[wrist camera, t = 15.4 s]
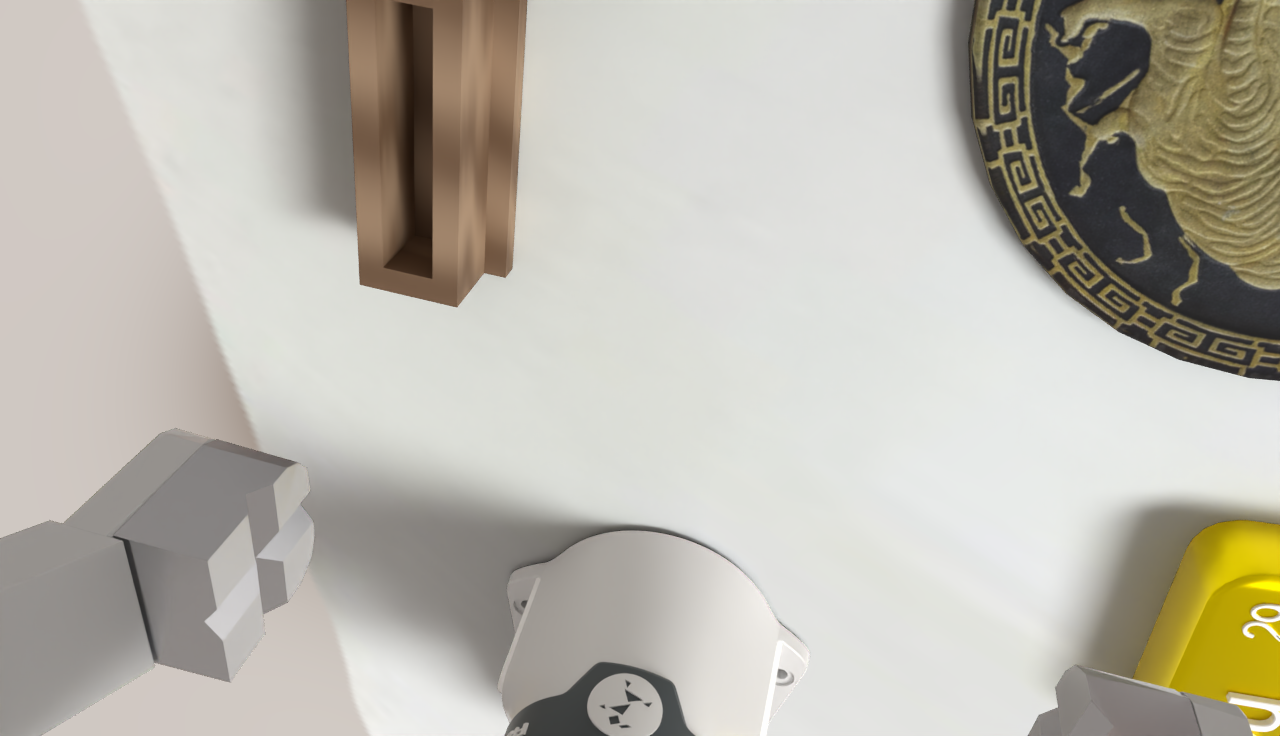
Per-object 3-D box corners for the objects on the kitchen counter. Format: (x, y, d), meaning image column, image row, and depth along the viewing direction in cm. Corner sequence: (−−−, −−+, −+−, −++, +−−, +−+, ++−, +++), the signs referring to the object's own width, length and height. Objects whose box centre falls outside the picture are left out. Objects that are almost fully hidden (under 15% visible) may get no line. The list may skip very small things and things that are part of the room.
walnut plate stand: (512, 268, 48) (479, 312, 44) (380, 238, 49) (337, 279, 45) (529, -37, 40) (491, -13, 36) (370, -66, 40) (317, -47, 37)
